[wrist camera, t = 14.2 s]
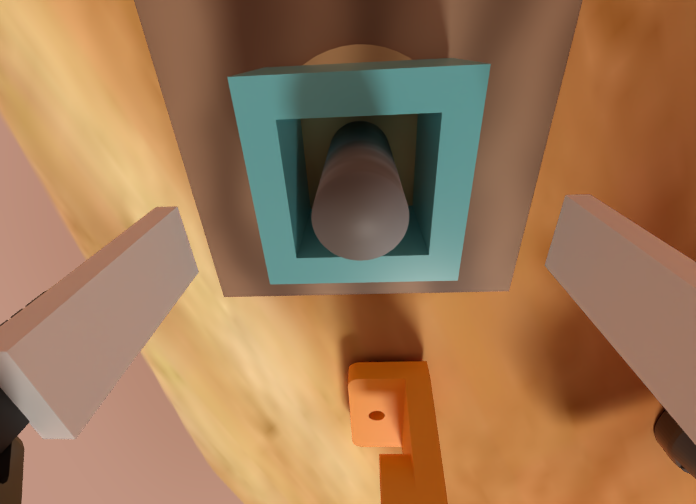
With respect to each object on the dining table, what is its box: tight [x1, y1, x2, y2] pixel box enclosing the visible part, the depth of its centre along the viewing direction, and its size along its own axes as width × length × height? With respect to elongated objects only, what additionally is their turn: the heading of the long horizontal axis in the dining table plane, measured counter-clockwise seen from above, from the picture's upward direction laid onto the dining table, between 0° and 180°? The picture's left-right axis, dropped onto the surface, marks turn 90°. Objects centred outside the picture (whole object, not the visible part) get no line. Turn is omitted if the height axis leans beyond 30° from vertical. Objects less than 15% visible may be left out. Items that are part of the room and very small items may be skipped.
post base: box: [134, 0, 582, 297], centre depth 17 cm, size 22×22×11 cm
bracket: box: [348, 361, 448, 504], centre depth 30 cm, size 11×7×12 cm, turn 3°
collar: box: [227, 58, 491, 284], centre depth 18 cm, size 10×10×6 cm
